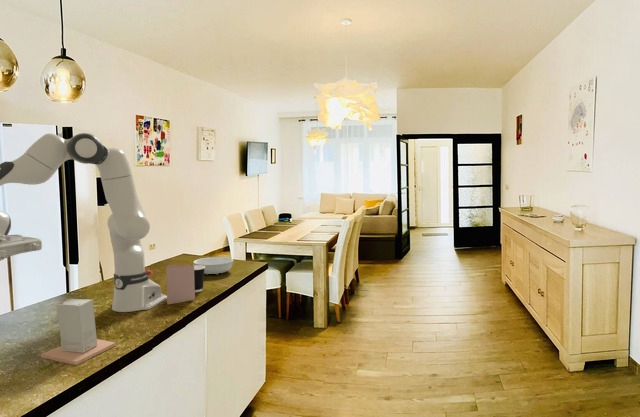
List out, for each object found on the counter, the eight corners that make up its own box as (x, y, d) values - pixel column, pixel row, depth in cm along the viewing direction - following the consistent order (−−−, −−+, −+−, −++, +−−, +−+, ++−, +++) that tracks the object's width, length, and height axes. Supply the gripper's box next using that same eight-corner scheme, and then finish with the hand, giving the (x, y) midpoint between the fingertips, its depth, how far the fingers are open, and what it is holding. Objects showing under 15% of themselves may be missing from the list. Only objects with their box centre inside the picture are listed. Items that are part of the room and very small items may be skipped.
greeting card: (195, 299, 178) (194, 264, 177) (189, 304, 171) (188, 269, 169) (169, 298, 178) (168, 264, 177) (162, 304, 171) (161, 268, 170)
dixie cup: (209, 290, 191) (208, 267, 190) (193, 294, 185) (192, 270, 184) (200, 287, 196) (199, 264, 195) (184, 290, 191) (184, 267, 190)
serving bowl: (239, 269, 232) (239, 257, 231) (222, 279, 211) (222, 265, 211) (205, 267, 236) (205, 255, 236) (186, 276, 216) (185, 263, 215)
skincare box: (97, 345, 128) (95, 299, 127) (82, 354, 123) (79, 305, 121) (75, 343, 130) (72, 297, 129) (59, 351, 125) (56, 303, 123)
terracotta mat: (82, 339, 136) (82, 336, 136) (115, 345, 131) (115, 342, 131) (41, 357, 123) (41, 354, 123) (76, 365, 118) (76, 361, 118)
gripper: (-44, 243, 126) (-14, 246, 122) (24, 233, 145) (52, 236, 141) (-42, 264, 127) (-12, 267, 122) (25, 251, 146) (53, 254, 141)
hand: (23, 250), depth 132 cm, fingers open, 8 cm apart
